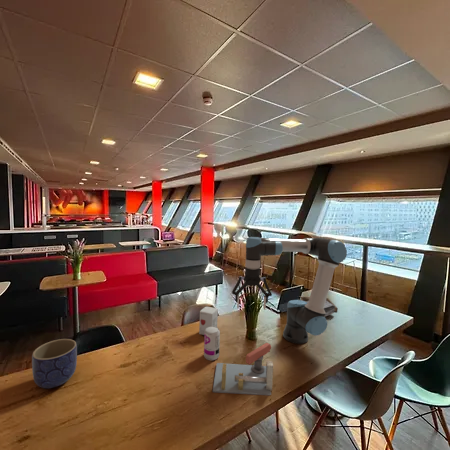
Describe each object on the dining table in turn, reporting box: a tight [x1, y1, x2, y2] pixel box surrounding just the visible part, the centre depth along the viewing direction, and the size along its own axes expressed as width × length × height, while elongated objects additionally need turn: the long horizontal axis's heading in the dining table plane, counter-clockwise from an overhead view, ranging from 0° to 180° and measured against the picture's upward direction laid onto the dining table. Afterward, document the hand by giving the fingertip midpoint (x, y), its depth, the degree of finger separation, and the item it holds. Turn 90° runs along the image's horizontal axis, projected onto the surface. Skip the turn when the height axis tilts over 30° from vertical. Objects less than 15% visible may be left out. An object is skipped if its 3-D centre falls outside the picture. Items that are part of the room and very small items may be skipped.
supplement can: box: [203, 326, 221, 361], centre depth 132 cm, size 8×8×15 cm
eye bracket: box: [222, 363, 243, 390], centre depth 110 cm, size 9×6×8 cm, turn 86°
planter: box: [31, 338, 78, 389], centre depth 111 cm, size 17×17×15 cm
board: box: [212, 359, 272, 396], centre depth 115 cm, size 25×19×7 cm
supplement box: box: [198, 306, 219, 336], centre depth 157 cm, size 9×9×15 cm
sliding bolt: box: [235, 360, 274, 391], centre depth 109 cm, size 16×3×11 cm, turn 86°
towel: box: [306, 301, 336, 318], centre depth 190 cm, size 15×18×8 cm
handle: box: [245, 342, 272, 365], centre depth 121 cm, size 18×5×4 cm, turn 134°
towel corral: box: [300, 296, 338, 313], centre depth 207 cm, size 25×22×3 cm
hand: (251, 308), depth 127 cm, fingers open, 13 cm apart
